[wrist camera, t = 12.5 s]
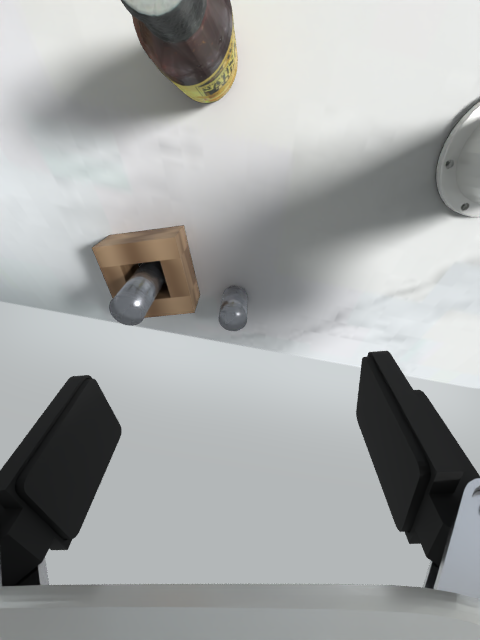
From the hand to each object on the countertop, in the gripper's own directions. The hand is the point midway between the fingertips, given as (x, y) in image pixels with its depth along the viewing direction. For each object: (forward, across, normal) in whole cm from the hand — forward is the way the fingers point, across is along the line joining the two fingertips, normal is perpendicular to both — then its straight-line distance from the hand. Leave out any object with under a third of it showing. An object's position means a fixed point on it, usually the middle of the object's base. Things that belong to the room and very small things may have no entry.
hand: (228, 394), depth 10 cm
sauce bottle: (+31, +2, -14) cm, 34 cm away
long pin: (+30, +13, +6) cm, 33 cm away
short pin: (+30, +3, +12) cm, 33 cm away
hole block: (+30, +13, +6) cm, 34 cm away
